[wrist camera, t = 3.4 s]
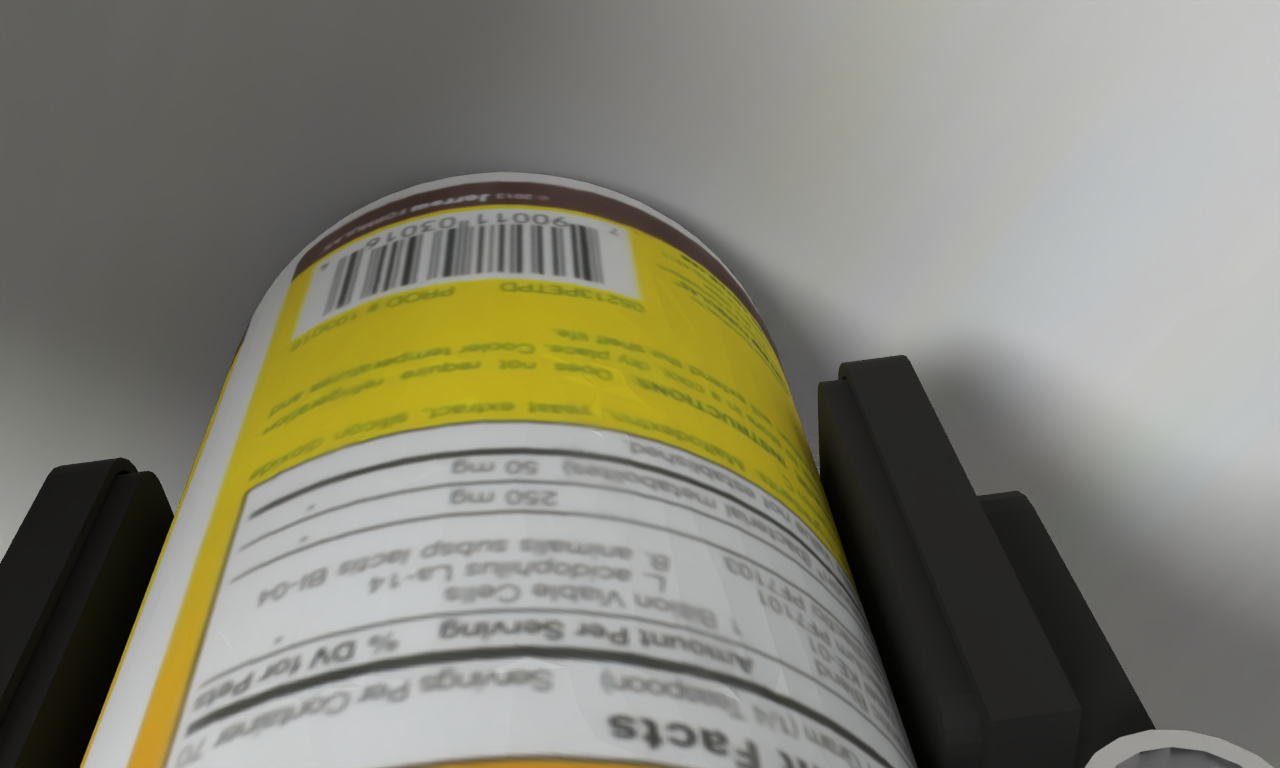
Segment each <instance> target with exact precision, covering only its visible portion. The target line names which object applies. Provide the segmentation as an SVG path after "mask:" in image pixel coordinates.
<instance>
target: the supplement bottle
mask: <svg viewBox="0 0 1280 768" xmlns="http://www.w3.org/2000/svg"><path fill="white" fill-rule="evenodd" d="M80 768H918V766H917V764H916V761H915V758H914V755H913V752H912V749H911V746H910V743H909V740H908V737H907V734H906V731H905V728H904V725H903V722H902V719H901V716H900V713H899V710H898V708H897V705H896V702H895V699H894V696H893V693H892V690H891V687H890V684H889V681H888V678H887V675H886V672H885V669H884V666H883V663H882V660H881V657H880V654H879V651H878V648H877V645H876V642H875V639H874V637H873V634H872V631H871V628H870V626H869V623H868V620H867V618H866V615H865V612H864V609H863V606H862V603H861V600H860V597H859V594H858V591H857V588H856V585H855V582H854V579H853V576H852V573H851V570H850V567H849V564H848V561H847V558H846V555H845V552H844V550H843V547H842V543H841V540H840V537H839V534H838V531H837V528H836V525H835V522H834V519H833V516H832V513H831V510H830V507H829V504H828V501H827V498H826V495H825V492H824V489H823V486H822V483H821V480H820V477H819V474H818V471H817V468H816V466H815V463H814V460H813V457H812V454H811V451H810V448H809V445H808V443H807V440H806V437H805V434H804V431H803V428H802V425H801V422H800V419H799V416H798V413H797V410H796V407H795V404H794V401H793V398H792V395H791V393H790V390H789V387H788V384H787V381H786V379H785V375H784V372H783V369H782V366H781V363H780V360H779V357H778V354H777V351H776V348H775V346H774V344H773V342H772V340H771V337H770V335H769V333H768V331H767V329H766V327H765V325H764V323H763V321H762V319H761V317H760V315H759V313H758V311H757V309H756V308H755V306H754V304H753V302H752V300H751V299H750V297H749V296H748V294H747V293H746V291H745V290H744V288H743V287H742V285H741V284H740V283H739V281H738V280H737V279H736V278H735V276H734V275H733V274H732V273H731V272H730V270H729V269H728V268H727V267H726V266H725V265H724V264H723V262H722V261H721V260H720V259H719V258H718V257H717V256H716V255H715V254H714V253H713V252H712V251H711V250H710V249H709V248H707V247H706V246H705V245H704V244H703V243H702V242H701V241H700V240H699V239H697V238H696V237H695V236H694V235H692V234H691V233H690V232H688V231H687V230H686V229H684V228H683V227H682V226H680V225H679V224H678V223H676V222H675V221H673V220H671V219H670V218H668V217H666V216H664V215H663V214H661V213H659V212H658V211H656V210H654V209H652V208H651V207H649V206H647V205H645V204H643V203H641V202H639V201H637V200H635V199H632V198H630V197H627V196H625V195H622V194H620V193H618V192H615V191H612V190H609V189H606V188H603V187H600V186H597V185H594V184H591V183H587V182H582V181H578V180H573V179H569V178H564V177H557V176H551V175H545V174H535V173H519V172H492V173H478V174H470V175H462V176H455V177H449V178H444V179H440V180H436V181H431V182H427V183H422V184H418V185H415V186H412V187H409V188H407V189H404V190H401V191H398V192H395V193H393V194H390V195H387V196H385V197H383V198H381V199H379V200H376V201H374V202H372V203H370V204H368V205H366V206H364V207H362V208H360V209H359V210H357V211H355V212H353V213H352V214H350V215H348V216H346V217H345V218H343V219H342V220H340V221H339V222H338V223H336V224H335V225H333V226H332V227H330V228H329V229H327V230H326V231H325V232H323V233H322V234H321V235H320V236H318V237H317V238H316V239H315V240H313V241H312V242H311V243H310V244H308V245H307V246H306V247H305V248H304V249H303V250H302V251H301V252H300V253H299V254H298V255H297V256H296V257H295V258H294V259H293V260H292V261H291V262H290V263H289V264H288V265H287V266H286V268H285V269H284V270H283V271H282V272H281V273H280V274H279V276H278V277H277V278H276V280H275V281H274V282H273V284H272V285H271V287H270V288H269V289H268V291H267V292H266V294H265V295H264V297H263V299H262V301H261V302H260V304H259V306H258V307H257V309H256V311H255V313H254V315H253V317H252V318H251V321H250V323H249V325H248V327H247V329H246V332H245V334H244V336H243V338H242V341H241V343H240V345H239V347H238V350H237V352H236V355H235V357H234V360H233V362H232V365H231V368H230V370H229V373H228V375H227V377H226V380H225V383H224V385H223V388H222V391H221V394H220V396H219V399H218V402H217V405H216V407H215V410H214V412H213V415H212V417H211V420H210V422H209V425H208V427H207V430H206V433H205V436H204V439H203V442H202V444H201V447H200V449H199V451H198V454H197V456H196V459H195V461H194V464H193V467H192V470H191V473H190V476H189V479H188V482H187V485H186V487H185V490H184V493H183V495H182V498H181V500H180V503H179V506H178V508H177V511H176V513H175V516H174V519H173V521H172V524H171V527H170V529H169V532H168V534H167V537H166V540H165V542H164V545H163V548H162V550H161V553H160V556H159V558H158V561H157V564H156V566H155V569H154V572H153V574H152V577H151V580H150V582H149V585H148V588H147V591H146V593H145V596H144V599H143V601H142V604H141V607H140V609H139V612H138V615H137V617H136V620H135V623H134V625H133V628H132V631H131V633H130V636H129V639H128V641H127V644H126V647H125V649H124V652H123V655H122V657H121V660H120V663H119V665H118V668H117V671H116V673H115V676H114V679H113V681H112V684H111V687H110V689H109V692H108V695H107V697H106V700H105V703H104V705H103V708H102V710H101V713H100V716H99V718H98V721H97V724H96V726H95V729H94V731H93V734H92V737H91V739H90V742H89V745H88V747H87V750H86V752H85V755H84V758H83V760H82V763H81V766H80Z"/></svg>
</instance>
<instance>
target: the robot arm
mask: <svg viewBox="0 0 1280 768" xmlns="http://www.w3.org/2000/svg"><path fill="white" fill-rule="evenodd" d="M818 422H819V455H820V480H821V483H822V486H823V489H824V492H825V495H826V498H827V501H828V504H829V507H830V510H831V513H832V516H833V519H834V522H835V525H836V528H837V531H838V534H839V537H840V540H841V543H842V547H843V550H844V552H845V555H846V558H847V561H848V564H849V567H850V570H851V573H852V576H853V579H854V582H855V585H856V588H857V591H858V594H859V597H860V600H861V603H862V606H863V609H864V612H865V615H866V618H867V620H868V623H869V626H870V628H871V631H872V634H873V637H874V639H875V642H876V645H877V648H878V651H879V654H880V657H881V660H882V663H883V666H884V669H885V672H886V675H887V678H888V681H889V684H890V687H891V690H892V693H893V696H894V699H895V702H896V705H897V708H898V710H899V713H900V716H901V719H902V722H903V725H904V728H905V731H906V734H907V737H908V740H909V743H910V746H911V749H912V752H913V755H914V758H915V761H916V764H917V766H918V768H1274V767H1273V766H1271V765H1270V764H1269V763H1267V762H1266V761H1265V760H1263V759H1262V758H1261V757H1259V756H1258V755H1256V754H1254V753H1252V752H1249V751H1247V750H1245V749H1243V748H1241V747H1239V746H1237V745H1235V744H1232V743H1230V742H1228V741H1226V740H1224V739H1221V738H1217V737H1212V736H1208V735H1204V734H1200V733H1196V732H1191V731H1187V730H1156V729H1155V727H1154V725H1153V723H1152V721H1151V719H1150V718H1149V716H1148V714H1147V712H1146V710H1145V709H1144V707H1143V705H1142V703H1141V701H1140V700H1139V698H1138V696H1137V694H1136V692H1135V690H1134V689H1133V687H1132V685H1131V683H1130V681H1129V680H1128V678H1127V676H1126V674H1125V672H1124V670H1123V669H1122V667H1121V665H1120V663H1119V661H1118V660H1117V658H1116V656H1115V654H1114V652H1113V651H1112V649H1111V647H1110V645H1109V643H1108V641H1107V640H1106V638H1105V636H1104V634H1103V632H1102V631H1101V629H1100V627H1099V625H1098V623H1097V622H1096V620H1095V618H1094V616H1093V614H1092V612H1091V611H1090V609H1089V607H1088V605H1087V603H1086V602H1085V600H1084V598H1083V596H1082V594H1081V592H1080V591H1079V589H1078V587H1077V585H1076V583H1075V582H1074V580H1073V578H1072V576H1071V574H1070V573H1069V571H1068V569H1067V567H1066V565H1065V563H1064V562H1063V560H1062V558H1061V556H1060V554H1059V553H1058V551H1057V549H1056V547H1055V545H1054V544H1053V542H1052V540H1051V538H1050V536H1049V534H1048V533H1047V531H1046V529H1045V527H1044V525H1043V524H1042V522H1041V520H1040V518H1039V516H1038V515H1037V513H1036V511H1035V509H1034V507H1033V506H1032V504H1031V503H1030V502H1029V500H1028V499H1027V497H1026V496H1025V495H1023V494H1022V493H1020V492H1018V491H1012V492H1004V493H997V494H989V495H982V496H976V494H975V492H974V490H973V488H972V486H971V484H970V482H969V480H968V478H967V476H966V474H965V472H964V470H963V468H962V466H961V464H960V462H959V460H958V457H957V455H956V453H955V451H954V449H953V447H952V445H951V443H950V441H949V439H948V437H947V435H946V433H945V431H944V429H943V427H942V425H941V423H940V421H939V419H938V417H937V415H936V413H935V411H934V409H933V407H932V405H931V403H930V401H929V399H928V397H927V395H926V393H925V391H924V389H923V387H922V385H921V383H920V381H919V379H918V377H917V375H916V373H915V371H914V369H913V367H912V365H911V363H910V361H909V360H908V358H907V357H906V356H904V355H899V356H891V357H884V358H876V359H868V360H861V361H853V362H845V363H842V364H841V365H840V368H839V377H838V380H835V381H828V382H820V383H819V386H818ZM173 519H174V514H173V512H172V510H171V507H170V505H169V502H168V500H167V497H166V495H165V492H164V490H163V488H162V485H161V483H160V481H159V479H158V478H157V476H156V475H155V474H154V473H153V472H150V471H144V472H138V471H137V469H136V467H135V466H134V465H133V464H132V463H131V462H130V461H129V460H127V459H124V458H116V459H108V460H101V461H93V462H86V463H78V464H70V465H63V466H59V467H56V468H54V469H53V470H52V471H51V472H50V474H49V475H48V476H47V478H46V480H45V482H44V484H43V486H42V487H41V489H40V491H39V493H38V495H37V497H36V499H35V500H34V502H33V504H32V506H31V508H30V510H29V511H28V513H27V515H26V517H25V519H24V521H23V523H22V524H21V526H20V528H19V530H18V532H17V534H16V535H15V537H14V539H13V541H12V543H11V545H10V547H9V548H8V550H7V552H6V554H5V556H4V558H3V559H2V561H1V563H0V768H80V766H81V763H82V760H83V758H84V755H85V752H86V750H87V747H88V745H89V742H90V739H91V737H92V734H93V731H94V729H95V726H96V724H97V721H98V718H99V716H100V713H101V710H102V708H103V705H104V703H105V700H106V697H107V695H108V692H109V689H110V687H111V684H112V681H113V679H114V676H115V673H116V671H117V668H118V665H119V663H120V660H121V657H122V655H123V652H124V649H125V647H126V644H127V641H128V639H129V636H130V633H131V631H132V628H133V625H134V623H135V620H136V617H137V615H138V612H139V609H140V607H141V604H142V601H143V599H144V596H145V593H146V591H147V588H148V585H149V582H150V580H151V577H152V574H153V572H154V569H155V566H156V564H157V561H158V558H159V556H160V553H161V550H162V548H163V545H164V542H165V540H166V537H167V534H168V532H169V529H170V527H171V524H172V521H173Z"/></svg>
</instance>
